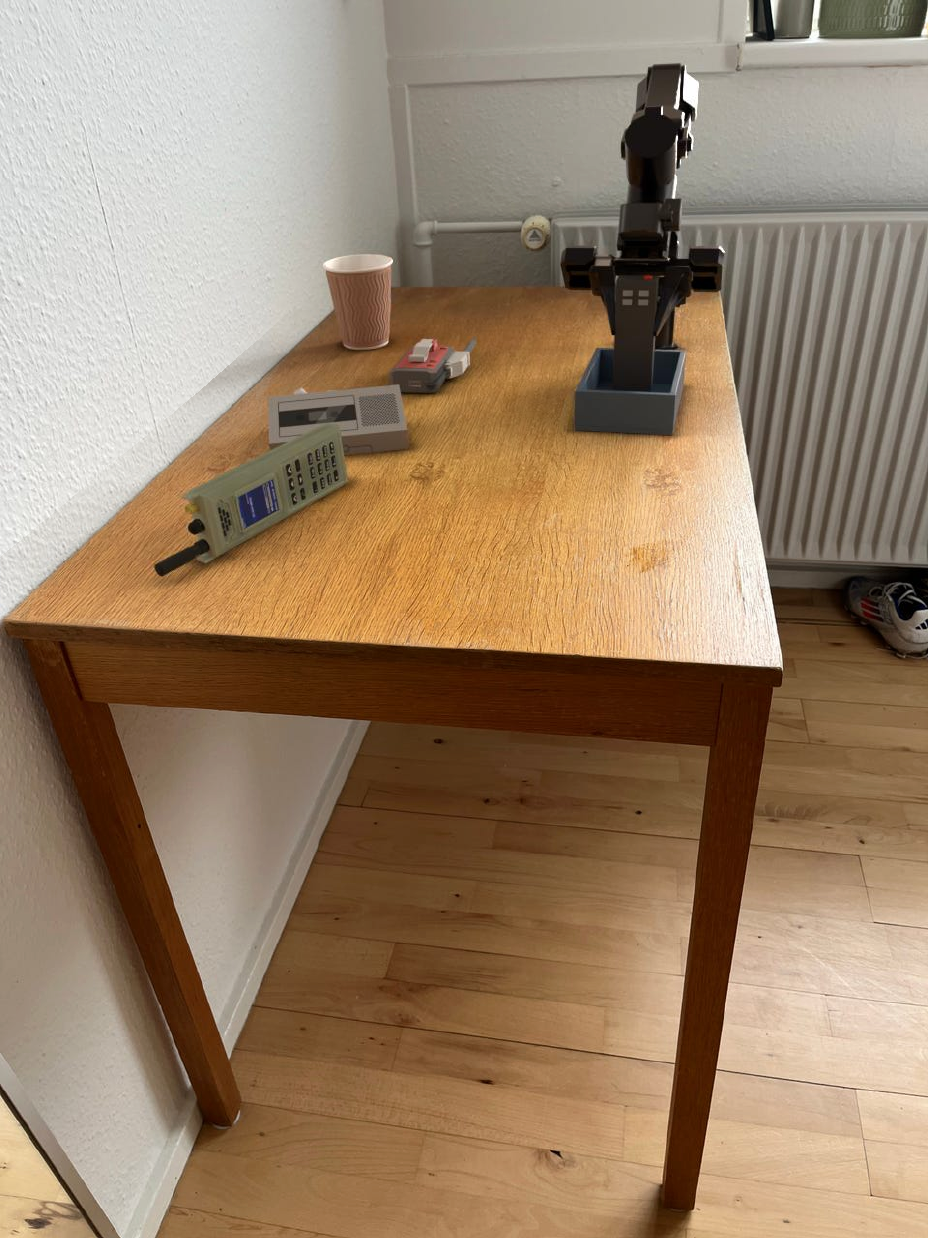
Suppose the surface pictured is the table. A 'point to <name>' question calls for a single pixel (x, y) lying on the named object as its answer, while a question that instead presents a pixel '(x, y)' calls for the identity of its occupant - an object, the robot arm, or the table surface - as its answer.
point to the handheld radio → (261, 494)
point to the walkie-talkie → (429, 366)
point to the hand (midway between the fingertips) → (633, 334)
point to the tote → (630, 396)
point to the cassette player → (343, 418)
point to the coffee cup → (361, 298)
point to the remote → (634, 332)
